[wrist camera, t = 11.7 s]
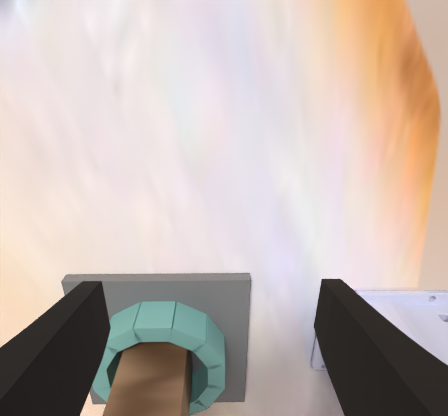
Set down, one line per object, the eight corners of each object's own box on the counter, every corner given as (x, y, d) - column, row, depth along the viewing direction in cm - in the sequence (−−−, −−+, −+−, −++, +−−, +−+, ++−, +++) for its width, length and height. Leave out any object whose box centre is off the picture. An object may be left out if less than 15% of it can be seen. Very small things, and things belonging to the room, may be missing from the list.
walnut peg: (189, 327, 24) (177, 444, 17) (192, 368, 26) (183, 489, 18) (130, 329, 24) (92, 447, 16) (137, 369, 26) (107, 492, 18)
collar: (249, 273, 23) (254, 305, 20) (243, 392, 28) (246, 432, 25) (66, 274, 22) (43, 307, 19) (96, 395, 28) (81, 435, 25)
